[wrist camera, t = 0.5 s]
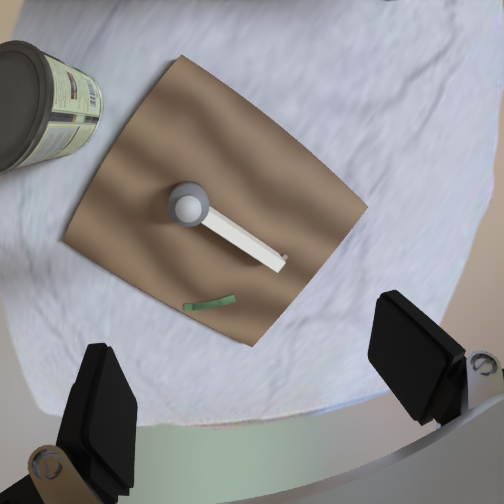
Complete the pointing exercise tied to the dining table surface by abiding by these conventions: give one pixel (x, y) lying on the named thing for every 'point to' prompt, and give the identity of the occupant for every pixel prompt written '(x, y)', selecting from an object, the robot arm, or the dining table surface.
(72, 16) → the dining table surface
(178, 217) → the dial needle
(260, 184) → the dial plate
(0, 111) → the coffee can
